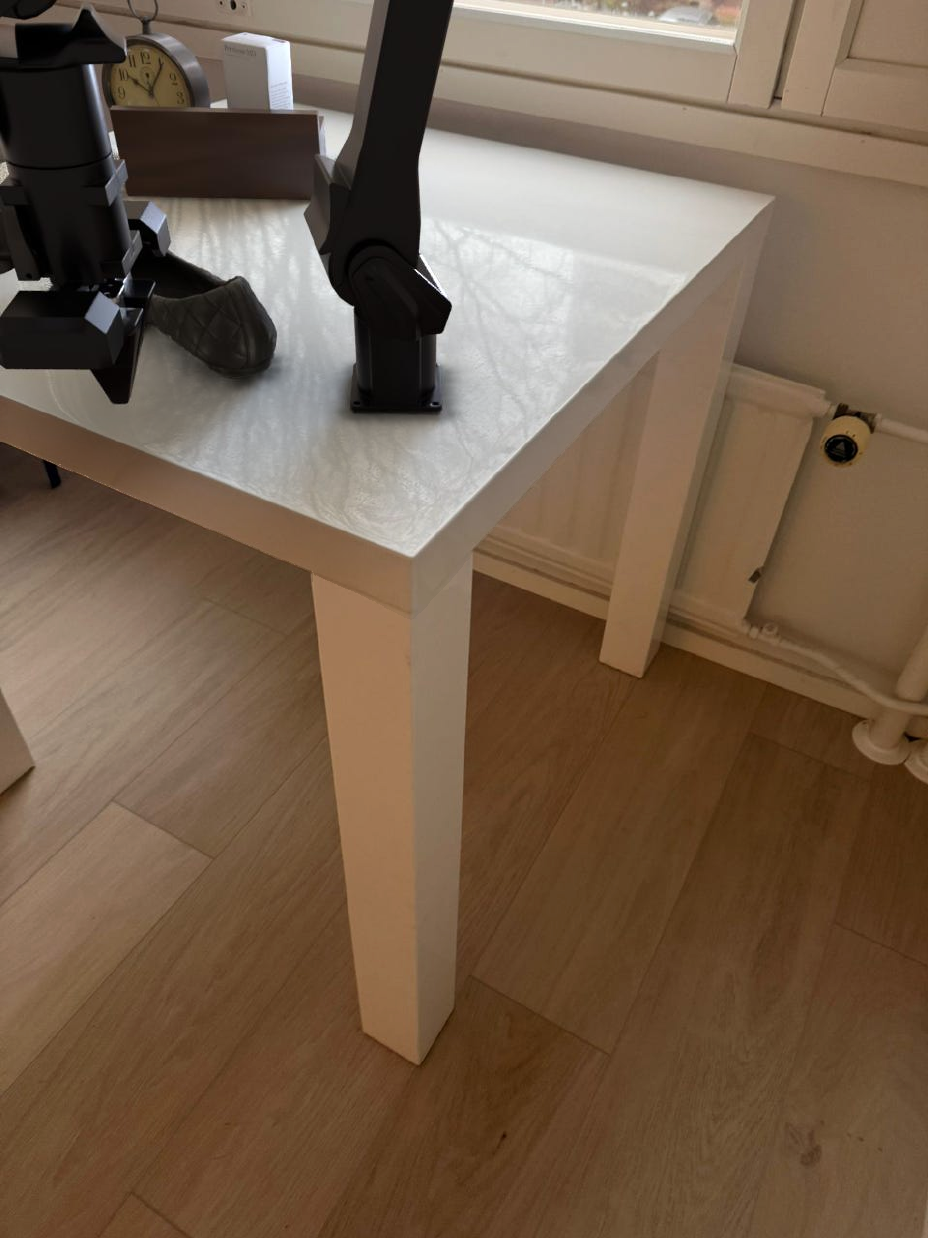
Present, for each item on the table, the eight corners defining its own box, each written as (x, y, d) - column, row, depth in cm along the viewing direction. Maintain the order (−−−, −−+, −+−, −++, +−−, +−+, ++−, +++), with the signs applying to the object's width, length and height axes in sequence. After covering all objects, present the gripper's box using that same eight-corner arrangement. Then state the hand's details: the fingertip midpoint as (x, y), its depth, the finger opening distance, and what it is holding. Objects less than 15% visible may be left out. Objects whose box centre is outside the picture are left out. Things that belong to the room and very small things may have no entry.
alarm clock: (114, 157, 103) (76, -18, 91) (140, 143, 106) (107, -26, 95) (202, 170, 100) (175, -8, 89) (225, 155, 104) (202, -17, 93)
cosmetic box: (231, 164, 102) (215, 38, 94) (257, 154, 105) (243, 30, 97) (275, 175, 100) (262, 46, 92) (300, 164, 103) (290, 38, 95)
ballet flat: (133, 258, 83) (115, 170, 78) (320, 360, 70) (312, 264, 65) (43, 285, 78) (17, 194, 73) (226, 400, 65) (209, 299, 60)
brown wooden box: (323, 199, 95) (317, 114, 90) (127, 195, 94) (108, 109, 89) (327, 176, 100) (322, 94, 95) (141, 172, 99) (125, 89, 94)
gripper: (-33, 103, 58) (38, 336, 68) (-166, 211, 44) (-51, 481, 55) (148, 107, 58) (190, 337, 69) (71, 214, 45) (139, 481, 55)
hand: (121, 401), depth 62 cm, fingers closed
